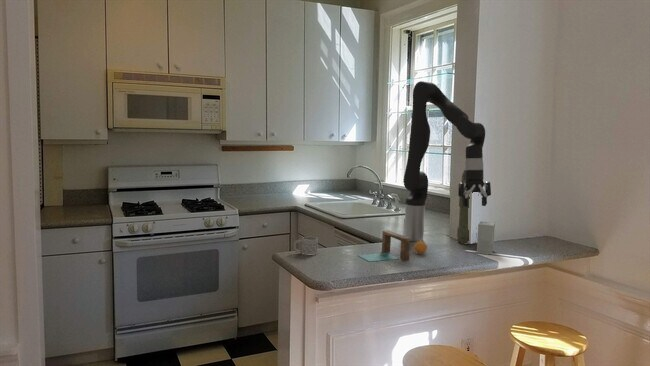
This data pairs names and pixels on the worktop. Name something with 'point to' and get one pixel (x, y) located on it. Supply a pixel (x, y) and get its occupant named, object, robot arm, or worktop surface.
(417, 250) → the ball
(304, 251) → the mug
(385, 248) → the bridge
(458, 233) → the olive green statue
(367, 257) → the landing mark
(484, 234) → the small box
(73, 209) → the worktop surface
